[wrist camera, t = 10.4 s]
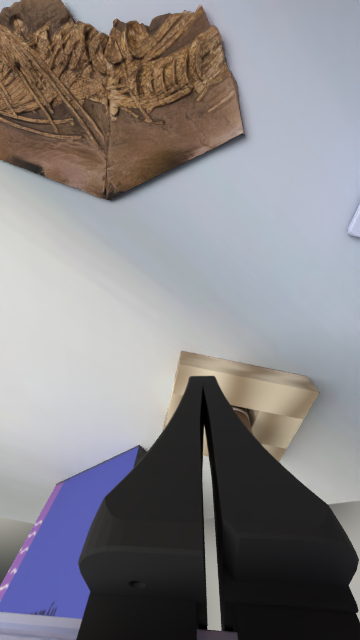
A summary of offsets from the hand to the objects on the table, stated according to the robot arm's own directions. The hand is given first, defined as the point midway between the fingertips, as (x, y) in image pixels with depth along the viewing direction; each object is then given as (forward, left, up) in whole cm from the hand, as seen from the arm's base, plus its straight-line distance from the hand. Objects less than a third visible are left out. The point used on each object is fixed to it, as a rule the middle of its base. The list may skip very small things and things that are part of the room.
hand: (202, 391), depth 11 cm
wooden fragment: (+13, -14, -11) cm, 22 cm away
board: (-6, +10, -10) cm, 16 cm away
